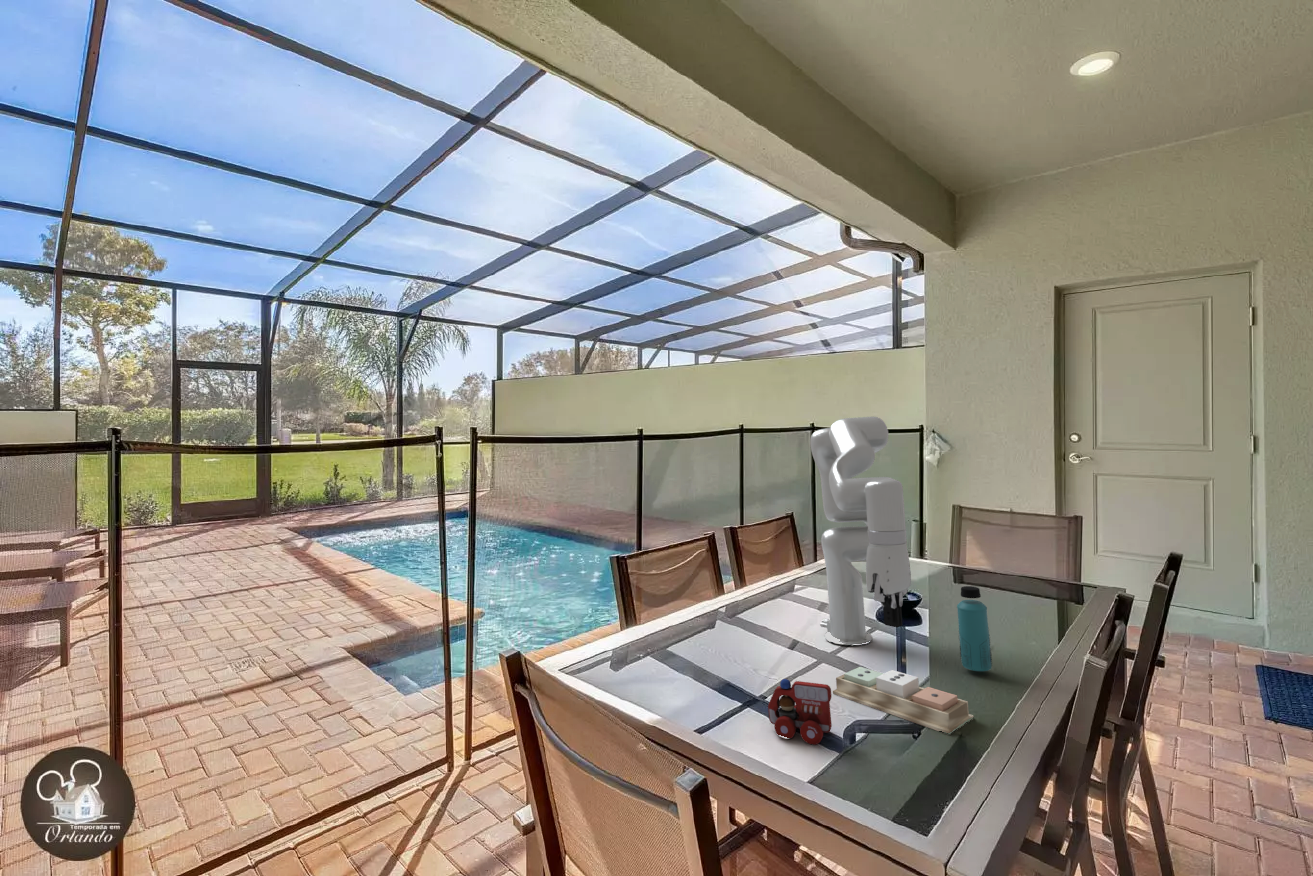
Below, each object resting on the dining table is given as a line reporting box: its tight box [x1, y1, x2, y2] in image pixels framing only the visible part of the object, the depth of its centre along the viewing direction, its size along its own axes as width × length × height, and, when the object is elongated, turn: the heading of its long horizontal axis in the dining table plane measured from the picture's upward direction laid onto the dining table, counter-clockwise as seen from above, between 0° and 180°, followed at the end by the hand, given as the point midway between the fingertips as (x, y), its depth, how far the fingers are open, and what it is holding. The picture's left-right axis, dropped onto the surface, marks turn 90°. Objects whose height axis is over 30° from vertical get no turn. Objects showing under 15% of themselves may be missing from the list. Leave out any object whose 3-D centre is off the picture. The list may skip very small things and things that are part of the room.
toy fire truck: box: [767, 678, 833, 746], centre depth 113 cm, size 7×12×10 cm, turn 60°
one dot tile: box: [912, 686, 959, 712], centre depth 116 cm, size 6×6×4 cm
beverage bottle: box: [956, 585, 993, 672], centre depth 137 cm, size 6×7×20 cm
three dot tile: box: [876, 669, 920, 699], centre depth 122 cm, size 6×6×4 cm
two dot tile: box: [843, 666, 884, 687], centre depth 129 cm, size 6×6×4 cm
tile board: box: [832, 674, 975, 733], centre depth 122 cm, size 26×10×3 cm, turn 37°
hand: (893, 625), depth 122 cm, fingers closed
